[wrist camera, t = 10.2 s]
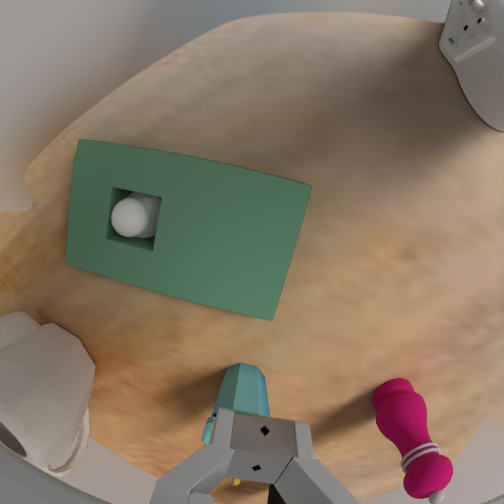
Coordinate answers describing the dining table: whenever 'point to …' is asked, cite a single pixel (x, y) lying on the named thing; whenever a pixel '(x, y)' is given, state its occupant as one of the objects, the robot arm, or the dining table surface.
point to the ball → (130, 217)
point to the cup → (240, 396)
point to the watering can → (43, 391)
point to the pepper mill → (412, 439)
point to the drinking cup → (274, 496)
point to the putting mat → (186, 226)
